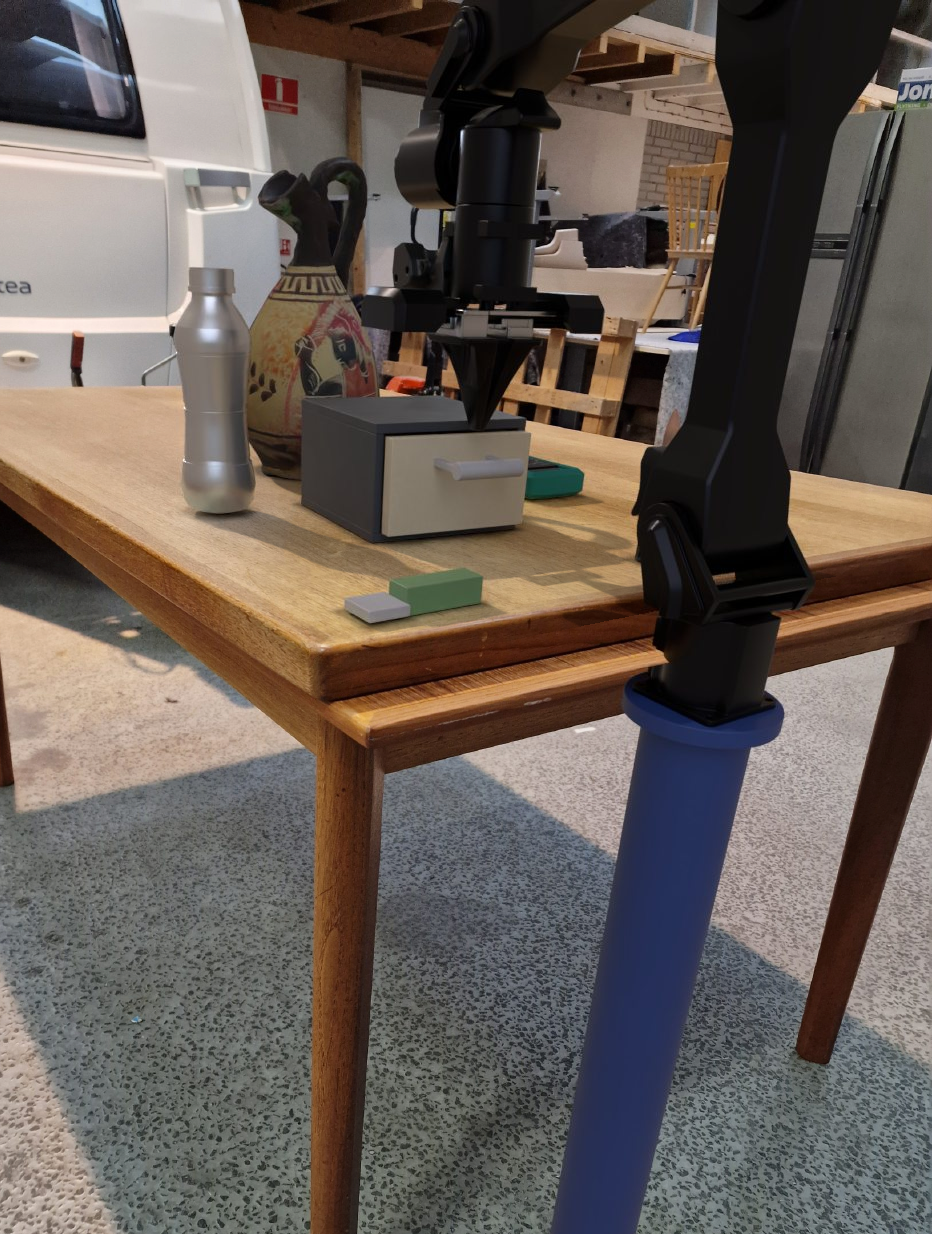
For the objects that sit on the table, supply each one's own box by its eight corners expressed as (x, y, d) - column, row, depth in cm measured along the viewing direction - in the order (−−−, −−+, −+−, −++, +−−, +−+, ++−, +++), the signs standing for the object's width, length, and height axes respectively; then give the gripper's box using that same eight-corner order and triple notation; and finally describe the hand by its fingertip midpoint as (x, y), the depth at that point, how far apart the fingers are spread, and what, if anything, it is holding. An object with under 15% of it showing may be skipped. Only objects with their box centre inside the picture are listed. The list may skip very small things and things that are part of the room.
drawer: (553, 537, 81) (564, 441, 78) (415, 551, 75) (421, 449, 72) (442, 491, 95) (448, 409, 92) (319, 500, 90) (320, 413, 86)
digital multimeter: (497, 469, 112) (499, 443, 110) (585, 496, 101) (588, 467, 99) (445, 474, 108) (447, 447, 107) (530, 502, 97) (533, 472, 96)
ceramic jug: (294, 494, 96) (295, 141, 82) (207, 466, 106) (196, 148, 92) (416, 476, 106) (435, 161, 93) (327, 452, 116) (332, 165, 103)
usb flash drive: (457, 592, 70) (460, 565, 69) (485, 605, 67) (488, 577, 66) (343, 612, 65) (344, 583, 64) (369, 626, 62) (370, 597, 61)
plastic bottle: (270, 514, 88) (269, 271, 79) (209, 524, 84) (199, 268, 75) (228, 500, 92) (222, 267, 83) (167, 510, 88) (154, 265, 79)
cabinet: (515, 529, 87) (526, 418, 83) (371, 543, 80) (376, 423, 76) (432, 494, 98) (438, 395, 94) (300, 504, 92) (301, 398, 88)
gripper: (533, 216, 80) (514, 412, 87) (330, 201, 72) (327, 418, 79) (622, 214, 72) (593, 431, 79) (403, 197, 64) (392, 441, 70)
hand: (476, 429), depth 77 cm, fingers closed
